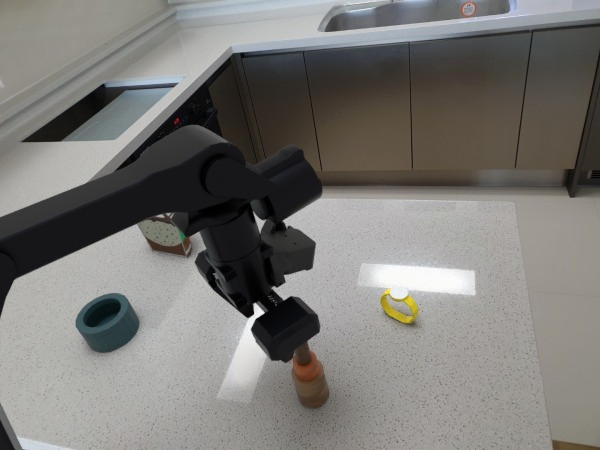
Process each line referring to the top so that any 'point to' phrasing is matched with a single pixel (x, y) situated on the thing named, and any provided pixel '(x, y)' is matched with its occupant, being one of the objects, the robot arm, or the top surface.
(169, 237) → the cake slice
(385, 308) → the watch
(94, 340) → the teal hollow cylinder
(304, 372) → the brown peg with discs
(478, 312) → the top surface
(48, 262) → the robot arm
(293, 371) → the stand
